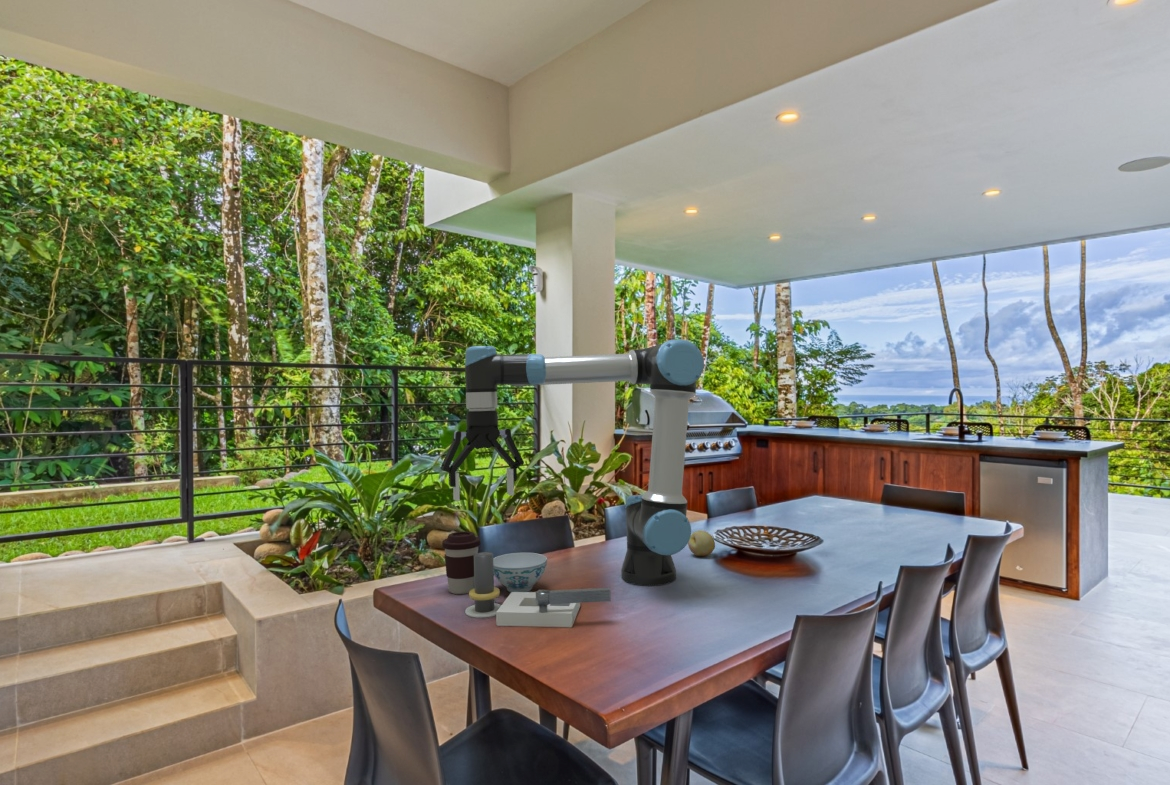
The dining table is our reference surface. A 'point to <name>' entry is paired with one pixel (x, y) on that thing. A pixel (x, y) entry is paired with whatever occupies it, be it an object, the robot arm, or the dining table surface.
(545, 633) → the dining table surface
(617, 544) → the dining table surface
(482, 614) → the mat
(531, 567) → the chinaware
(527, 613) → the socket block
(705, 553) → the fruit
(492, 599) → the plug
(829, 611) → the dining table surface
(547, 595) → the grey lever handle
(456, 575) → the coffee cup
